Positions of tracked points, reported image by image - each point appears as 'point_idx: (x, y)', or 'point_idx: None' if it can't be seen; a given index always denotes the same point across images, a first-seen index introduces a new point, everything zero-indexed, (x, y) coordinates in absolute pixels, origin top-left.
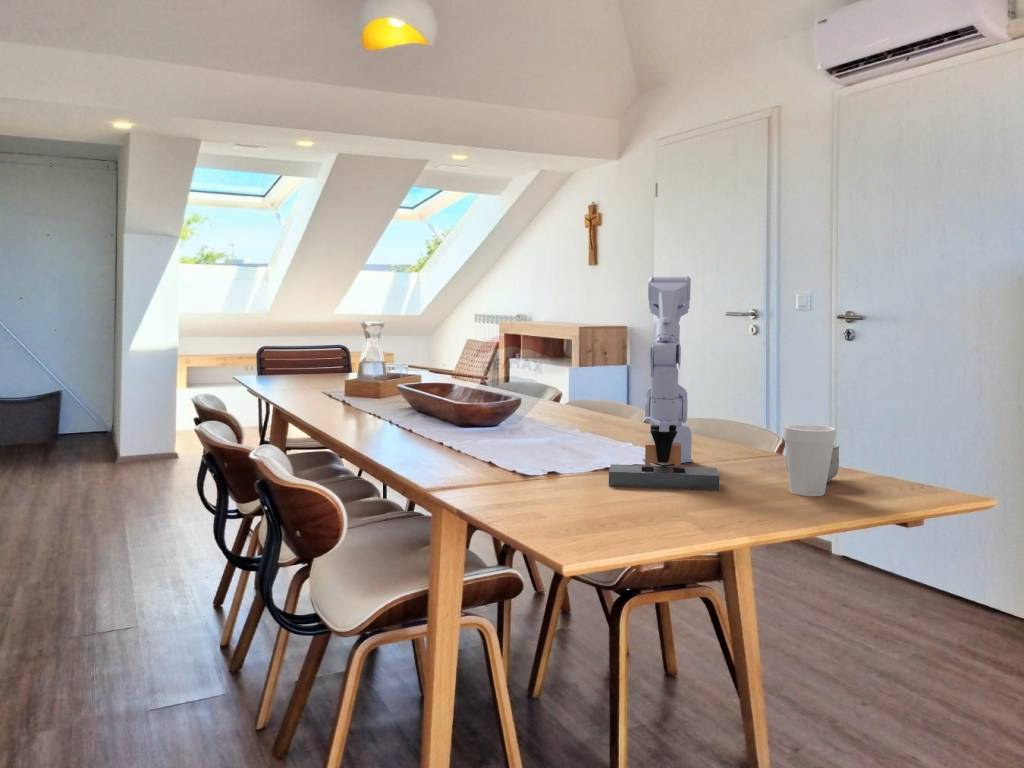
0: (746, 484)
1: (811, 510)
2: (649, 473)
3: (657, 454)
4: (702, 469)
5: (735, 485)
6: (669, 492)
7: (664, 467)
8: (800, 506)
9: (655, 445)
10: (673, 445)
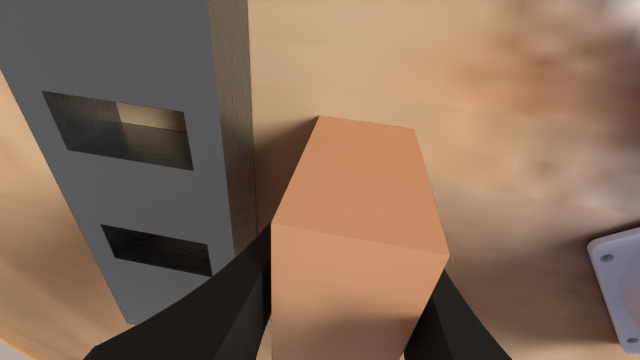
0: None
1: (71, 350)
2: (31, 126)
3: (255, 239)
4: None
5: None
6: None
7: (199, 215)
8: (90, 349)
9: (214, 276)
10: (275, 354)
